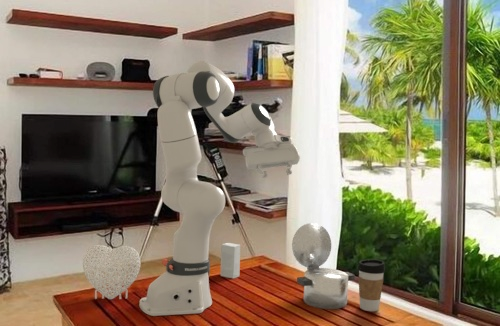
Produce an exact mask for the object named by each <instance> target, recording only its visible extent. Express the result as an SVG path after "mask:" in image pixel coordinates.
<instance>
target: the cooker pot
mask: <svg viewBox="0 0 500 326" xmlns="http://www.w3.org/2000/svg"><path fill="white" fill-rule="evenodd" d="M355 278H356V276H355V274H354V273H351V272H349V271H342V270H339V269H335V268H326V267H319V268H314V269H309V270H305V271H304V276H298V277H296V283H297V284H299V285H301V286H303V287H304V288H303V302H304V303H305V304H306V305H309V306H310V307H313V308H318V309H322V310H323V309H324V310H336V309H342V308H345V307H346V306H348V305H347V304H348V290H349V287H348V286H349V281H355Z"/></svg>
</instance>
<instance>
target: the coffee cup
mask: <svg viewBox="0 0 500 326" xmlns="http://www.w3.org/2000/svg"><path fill="white" fill-rule="evenodd" d="M385 263H386V262H385V261H383V260H381V259H361V260H359V262H358V265H357V270H358V289H359V290H358V291H359V292H358V295H359V296H358V297H359V308H360V309H361V310H363V311H367V312H378V311H379V310H380V303H381V297H382V290H383V285H384V284H383V283H384V273H385V272H386V266H385Z"/></svg>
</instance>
